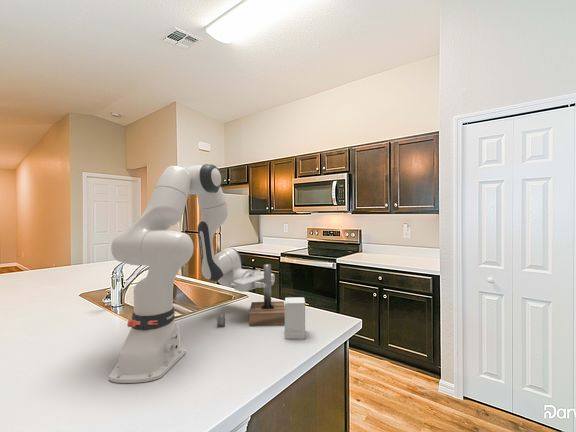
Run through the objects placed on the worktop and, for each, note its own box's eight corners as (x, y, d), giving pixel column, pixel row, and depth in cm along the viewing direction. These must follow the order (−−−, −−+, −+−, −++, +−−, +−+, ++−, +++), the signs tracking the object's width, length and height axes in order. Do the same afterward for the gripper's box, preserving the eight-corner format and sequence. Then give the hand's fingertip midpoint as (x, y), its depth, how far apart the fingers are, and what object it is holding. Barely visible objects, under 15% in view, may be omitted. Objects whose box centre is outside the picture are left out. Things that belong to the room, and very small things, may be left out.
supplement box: (305, 339, 104) (305, 303, 104) (284, 339, 104) (284, 303, 104) (304, 330, 111) (304, 296, 111) (285, 330, 111) (284, 296, 111)
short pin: (224, 327, 115) (224, 315, 115) (216, 327, 114) (216, 316, 114) (225, 324, 118) (225, 313, 118) (218, 324, 117) (217, 313, 117)
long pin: (271, 309, 122) (270, 265, 121) (263, 309, 122) (263, 265, 121) (271, 306, 125) (270, 264, 124) (264, 307, 125) (263, 264, 124)
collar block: (285, 325, 116) (285, 312, 116) (249, 326, 116) (249, 313, 116) (283, 312, 130) (283, 301, 130) (251, 313, 130) (251, 302, 130)
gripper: (226, 277, 122) (251, 282, 114) (260, 268, 139) (283, 272, 130) (227, 292, 122) (251, 298, 114) (260, 282, 139) (284, 286, 131)
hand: (269, 284), depth 122 cm, fingers closed on long pin, 3 cm apart
